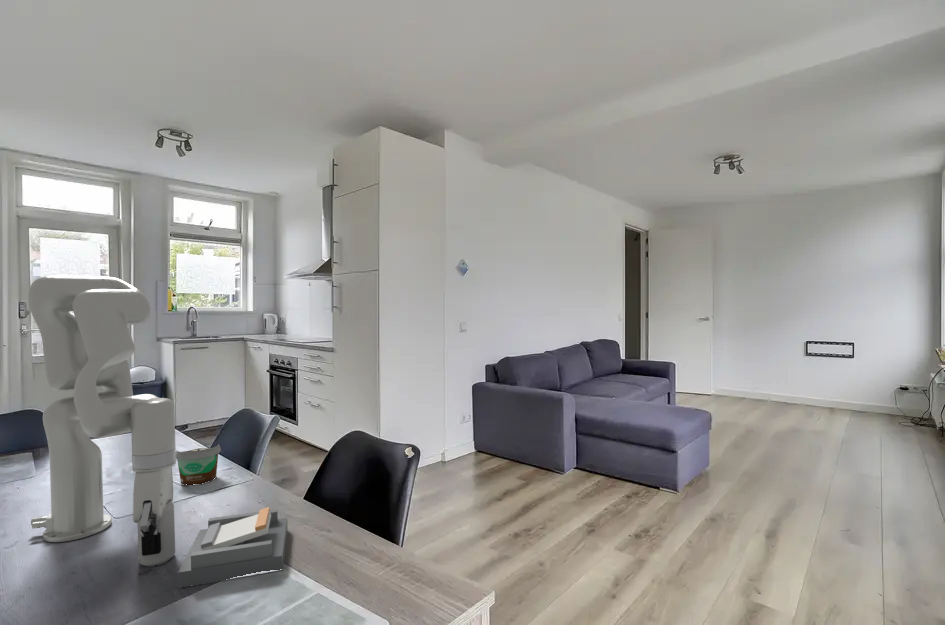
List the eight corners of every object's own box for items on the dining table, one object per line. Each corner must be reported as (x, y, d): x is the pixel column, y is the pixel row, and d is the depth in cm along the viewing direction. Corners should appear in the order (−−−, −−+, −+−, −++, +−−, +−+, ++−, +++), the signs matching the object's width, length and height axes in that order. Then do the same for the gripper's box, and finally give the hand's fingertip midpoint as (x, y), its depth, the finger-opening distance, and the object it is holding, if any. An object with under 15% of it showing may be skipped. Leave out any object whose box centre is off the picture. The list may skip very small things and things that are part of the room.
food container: (173, 490, 139) (172, 455, 139) (174, 483, 144) (174, 449, 144) (221, 482, 144) (220, 448, 144) (221, 475, 150) (220, 443, 150)
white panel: (203, 554, 95) (200, 545, 95) (212, 534, 104) (210, 525, 104) (267, 533, 99) (265, 524, 99) (271, 515, 107) (269, 506, 107)
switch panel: (178, 588, 90) (177, 559, 90) (200, 543, 107) (199, 518, 107) (282, 570, 96) (281, 543, 95) (287, 530, 113) (286, 507, 113)
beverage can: (157, 569, 97) (156, 510, 96) (130, 566, 98) (129, 507, 98) (182, 553, 103) (181, 497, 103) (156, 551, 104) (155, 495, 104)
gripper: (147, 449, 107) (149, 530, 107) (116, 475, 90) (119, 571, 91) (185, 446, 109) (188, 525, 109) (162, 470, 93) (165, 563, 93)
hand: (156, 545), depth 100 cm, fingers closed on beverage can, 6 cm apart
